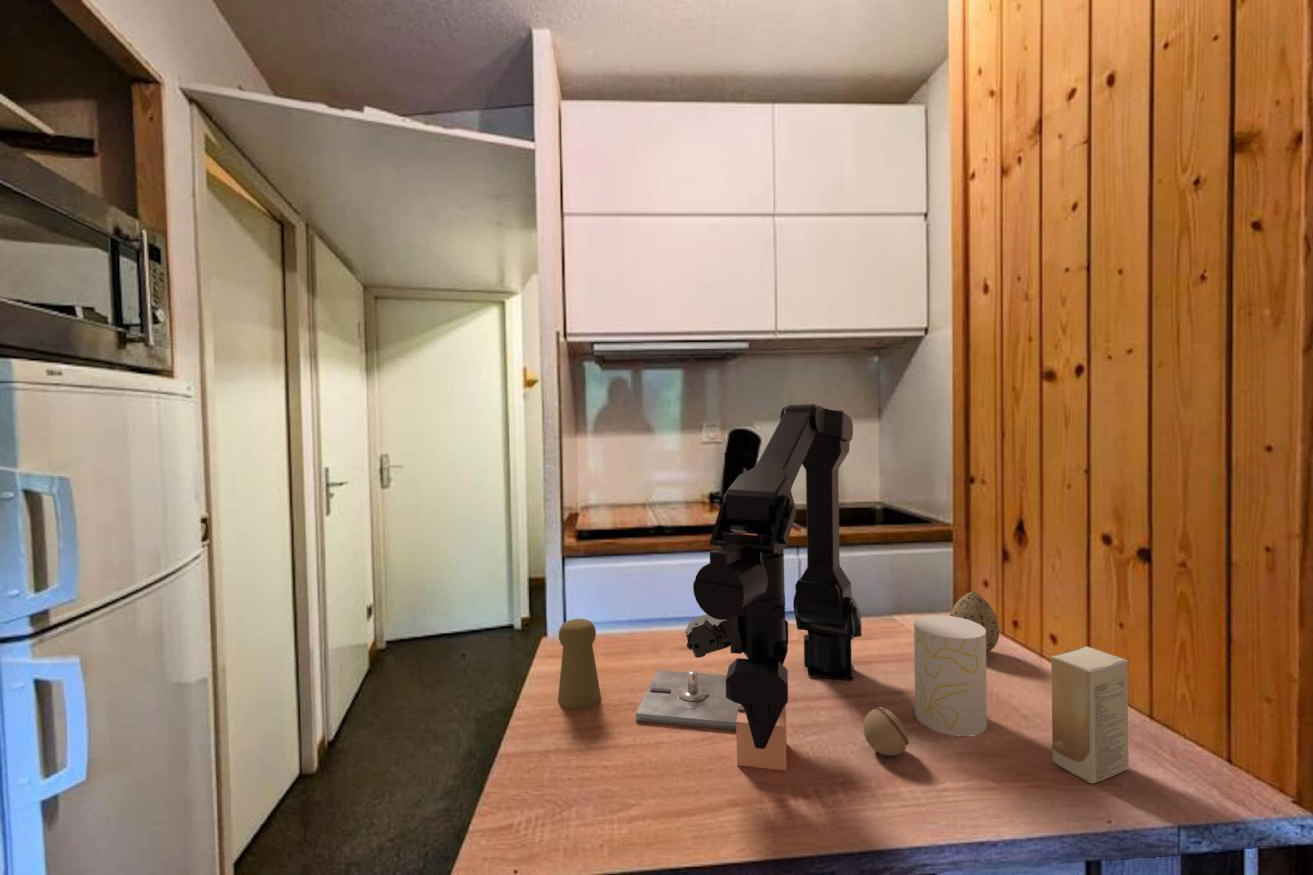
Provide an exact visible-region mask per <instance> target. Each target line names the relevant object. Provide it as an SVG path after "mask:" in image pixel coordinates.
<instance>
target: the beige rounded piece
mask: <svg viewBox="0 0 1313 875" xmlns="http://www.w3.org/2000/svg"><path fill="white" fill-rule="evenodd" d="M862 729H863V730H862V731H863V734H864V738H865V740H866V742H867V743H868V745H869V746H870V747H871V748H872V749H873V750H874V751H875V752H877V753H879V754H881V755H882V756H889V757H890V756H897V755H900V754H902V753H903V752H904V751H906V749H907V746H909V743H910V739H909V733H908V730H907V728H906V727H905V726H904V725H903V723H902V722H901V720H900V719H899V718H898V717H897V716H896V715H895V714H894V713H893V712H892V711H891V710H889V709H886V708H884V707H881V706H880V707H877V708H876V709H875V708H874V709H872V710H870V711H869V712H868V713H867V715H866V716H865V718H864V721H863V728H862Z"/></svg>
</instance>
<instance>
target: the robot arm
mask: <svg viewBox="0 0 1313 875" xmlns="http://www.w3.org/2000/svg"><path fill="white" fill-rule="evenodd" d="M853 423H854V422H853V420H852V418H851V416H849V415H848V414H846V413H845V412H844V410H842V409H836V410H835V409H829V408H825V407H823V406H821V405H817V404H816V403H805V404H804V403H803V404H788V405H787V406H783V407H782V408H781V412H780V421H779V423H778V424H777V426H776V428H775V430H774V432H773V433H772V435H771V437H770V439H769V441H768V443H767V445H766V447H765V448H764V450H763V452H762V454H761V456H760V458H759V460H758V461H757V463H756V464H755V465H754V467H752V468H750V469H748V470H747V471H744V472H742V473H741V474H739V475H738V476H737V477H736V478H735V480H734V481H733V482H732V483H731V485H730V486H729V487H728V489H727V490H726V492H725V494H724V495H723V498H722V500H721V503H720V507H719V510H718V514H717V516H716V521H715V524H714V527H713V530H712V532H711V537H710V540H709V546H710V547H713V548H715V549H713V550H710V552H709V563H708V564H706V565H704V566H702V567H701V568H700V569H699V570H698V572H697V574H696V575H695V578H694V581H693V583H692V584H693V585H692V589H693V595H694V598H695V602H696V603H697V604H698V606H699V608H700V609H701V610H702V611H703V613H705V615H700V616H697V617H695V618H693V619H692V620H690V621H689V623H688V625H687V627H686V629H685V636H686V638H687V642H686V647H687V649H688V650H690V651H692V652H693V656H694V657H695V658H697V659H699V658H703V657H705V656H706V655H707V654H710V653H714V652H717V651H721V650H724V649H726V648H729V647H730V654H736V655H737V654H739V655H741V654H743V655H744V656H745V658H742V657H741V658H740V657H739V658H738V657H737V658H736V659H735V660H733V662H732V663H731V664H729V665H728V669H727V672H726V673H727V674H726V675H727V677H726V698H728V699H729V700H731V701H733V702H735V703H739V704H740V705H741V706H743V708H744V710H745V713H746V716H747V719H748V723H749V727H750V730H751V734H752V738H753V741H754V745H755V747H756V748H759V749H765V748H766V746H767V743H768V741H769V739H770V737H771V734H772V732H773V730H774V727H775V725H776V723H777V721H778V718H779V716H780V714H781V712H782V710H783V708H784V706H786V707H787V704H788V703H789V677H788V676H789V674H788V673H789V670H788V669H787V668H786V667H785V666H784V663H785V660H786V658H787V654H788V652H789V651H788V650H789V649H788V648H789V646H788V644H789V622H788V621H787V620H786V596H785V595H786V594H785V593H786V592H785V591H786V590H785V588H786V587H785V553H784V549H785V548H786V547H787V546H788V541H789V537H790V534H791V531H792V528H793V524H794V521H795V518H796V517H797V516H796V515H797V509H796V504H795V499H794V497H793V492H792V488H793V485H794V483H795V481H796V478H797V477H798V474H799V471H800V470H801V468H802V467H803V468H804V470H805V486H806V487H805V489H806V490H805V492H806V495H805V497H806V500H805V501H806V503H805V504H806V550H807V551H806V552H807V553H806V558H807V559H806V560H807V561H806V562H807V565H806V566H807V567H806V569H805V570H804V572H803V574H802V575H801V577H800V578H799V579H798V580H797V582H796V584H795V586H794V587H795V588H794V589H795V592H794V596H793V611H794V612H793V613H794V618H795V623H796V629H797V630H798V631H807V634H804V635H803V664H804V668H806V669H807V676H808V677H813V678H821V679H823V678H825V679H837V680H838V679H839V680H854V672H853V668H852V667H853V666H852V664H853V663H852V641H853V640H854V639H855V638H860V637H862V635H863V634H862V631H863V630H862V627H863V626H862V624H863V623H862V614H861V612H860V610H859V607H858V605H857V603H856V602H857V601H856V600H855V598H854V597H852V596H853V595H852V594H853V593H852V583H851V581H850V580H849V578H848V576H847V574H846V573H845V572H844V570H843V569H842V567H841V563H840V562H841V560H840V507H839V506H840V504H839V503H840V498H839V497H840V496H839V494H840V493H839V469H840V467H841V465H842V464H843V462H844V461H845V459H846V457H847V456H848V454H849V452H850V442H851V441H852V439H853V435H854V424H853ZM730 531H732V532H730ZM716 548H717V549H716ZM746 657H747V658H746Z"/></svg>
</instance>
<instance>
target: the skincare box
mask: <svg viewBox="0 0 1313 875" xmlns="http://www.w3.org/2000/svg"><path fill="white" fill-rule="evenodd" d="M1050 660H1051V665H1050V667H1051V670H1050V672H1051V721H1052V722H1051V728H1052V729H1051V730H1052V731H1051V732H1052V734H1051V736H1052V737H1051V738H1052V739H1051V740H1052V741H1051V742H1052V762H1053V763H1054V764H1055V765H1057V766H1059V767H1061V768H1062V769H1065V770H1066V771H1068V772H1069V773H1072V774H1074V775H1075V776H1077V777H1078V778H1081V779H1082V780H1084V781H1085V782H1087V783H1089V784H1095V783H1099V782H1100V781H1104V780H1106V779H1109V778H1111V777H1113V776H1114V777H1115V776H1116V775H1119V774H1121V773H1123V772H1125V771H1127V770H1129V767H1130V766H1129V765H1130V764H1129V760H1130V759H1129V756H1130V755H1129V754H1130V753H1129V689H1128V688H1129V687H1128V686H1129V685H1128V681H1129V679H1128V677H1129V676H1128V671H1129V670H1128V660H1127V659H1125V658H1121V657H1118V656H1117V655H1116V656H1115V655H1113V654H1110V653H1108V652H1105V651H1102V650H1099V649H1096V648H1092V647H1090V646H1084V647H1080V648H1075V649H1071V650H1068V651H1065V652H1061V653H1058V654H1055V655H1052V656H1051V658H1050Z"/></svg>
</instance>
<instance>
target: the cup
mask: <svg viewBox="0 0 1313 875" xmlns="http://www.w3.org/2000/svg"><path fill="white" fill-rule="evenodd" d="M913 646H914V647H913V648H914V650H913V652H914V653H913V654H914V656H913V657H914V659H913V660H914V661H913V662H914V665H913V666H914V714H915V715H916V716H915V715H914V716H915V718H916V717H917V718H918V719H919V720H920V721H919V720H918V719H917V718H916V719H917V720H918V721H919V723H921V722H922V723H923V724H925V725H926V726H925V725H924V726H925V727H927V726H928V727H929V728H928V727H927V728H928V729H930V728H931V730H932V729H934V730H933V731H935V730H936V731H935V732H937V731H939V732H938V733H940V732H942V733H941V734H943V733H945V734H944V735H947V734H949V736H952V735H955V736H954V737H960V736H970V735H971V737H973V736H972V735H977V734H980V733H982V732H983V731H985V732H986V730H987V728H986V727H988V722H987V718H988V716H987V713H988V712H987V709H988V708H987V706H988V705H987V653H986V630H985V628H984V627H983V626H981V625H980V624H978V623H976V622H973V621H970V620H967V619H963V618H959V617H953V616H950V615H942V614H941V615H940V614H932V615H931V614H929V615H923V616H918V617H917V618H915V619H914V621H913ZM922 723H921V724H922ZM923 724H922V725H923ZM985 729H986V730H985ZM983 733H984V732H983ZM983 733H982V734H983ZM957 735H958V736H957ZM980 735H981V734H980ZM977 736H978V735H977Z"/></svg>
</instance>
